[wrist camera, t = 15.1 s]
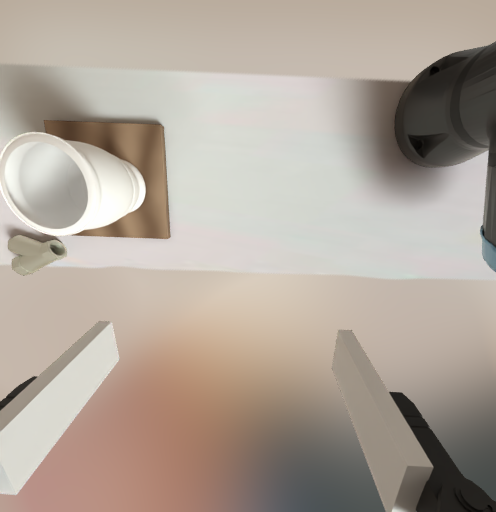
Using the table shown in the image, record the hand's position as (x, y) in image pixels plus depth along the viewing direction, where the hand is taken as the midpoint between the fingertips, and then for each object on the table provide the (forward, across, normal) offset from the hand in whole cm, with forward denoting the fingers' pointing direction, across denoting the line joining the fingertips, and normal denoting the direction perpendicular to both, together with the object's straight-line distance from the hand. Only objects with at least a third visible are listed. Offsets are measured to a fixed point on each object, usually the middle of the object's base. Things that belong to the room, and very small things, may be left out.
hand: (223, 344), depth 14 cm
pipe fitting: (+29, -38, -4) cm, 48 cm away
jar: (+29, -21, +7) cm, 36 cm away
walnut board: (+30, -23, +8) cm, 38 cm away
